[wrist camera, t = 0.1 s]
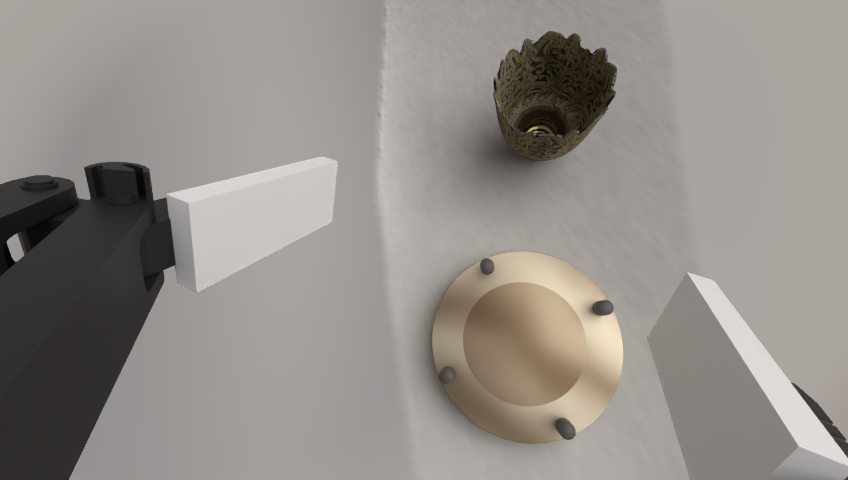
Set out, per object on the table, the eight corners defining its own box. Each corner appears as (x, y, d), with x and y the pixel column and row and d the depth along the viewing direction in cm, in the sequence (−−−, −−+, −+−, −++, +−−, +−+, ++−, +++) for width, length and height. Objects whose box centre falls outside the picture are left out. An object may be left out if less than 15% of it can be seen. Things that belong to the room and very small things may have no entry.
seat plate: (584, 471, 24) (595, 489, 22) (409, 389, 28) (401, 395, 25) (638, 290, 26) (654, 286, 24) (469, 233, 30) (467, 224, 27)
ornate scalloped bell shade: (474, 148, 31) (469, 90, 24) (532, 88, 32) (545, 11, 24) (543, 201, 29) (562, 157, 21) (604, 136, 29) (644, 69, 22)
